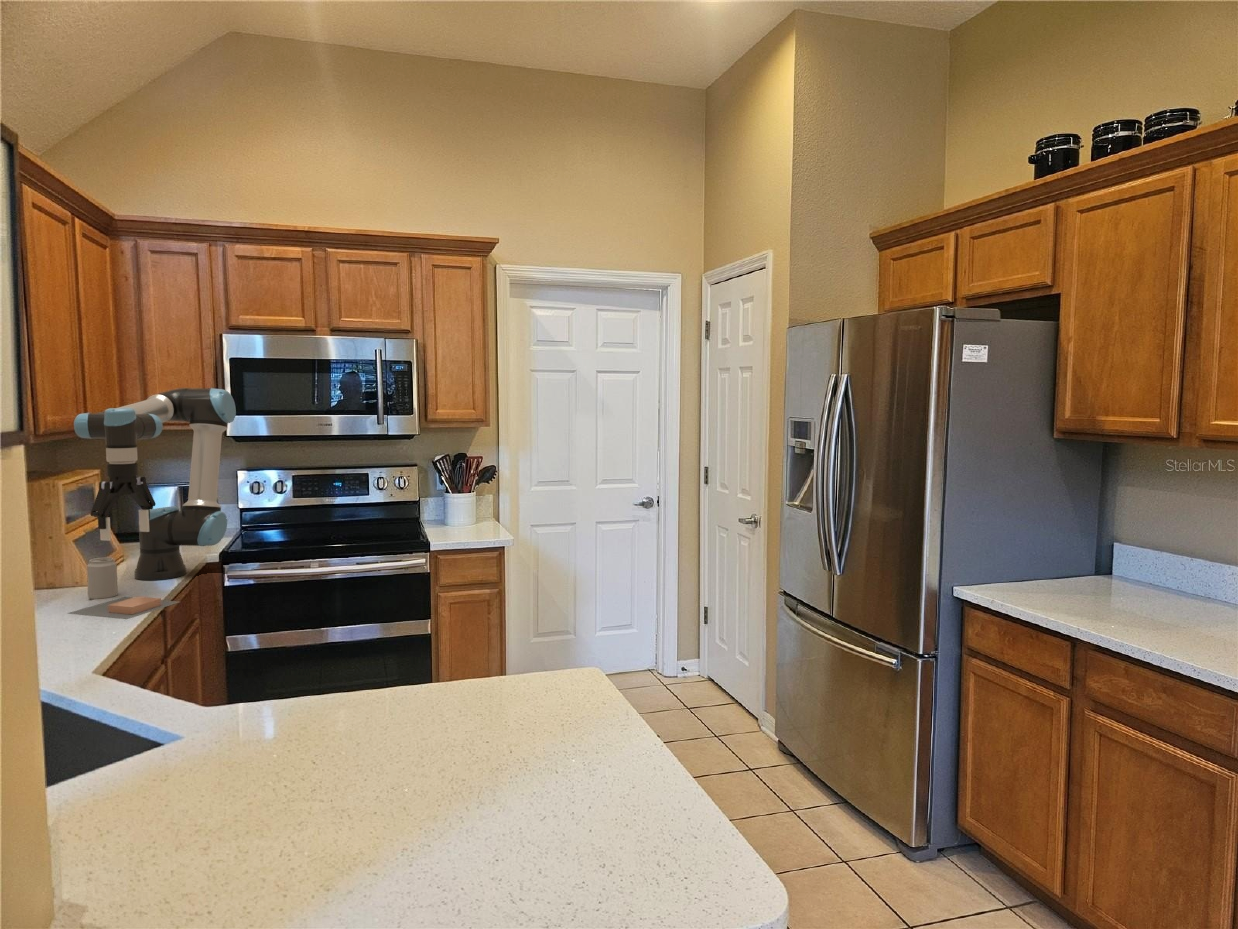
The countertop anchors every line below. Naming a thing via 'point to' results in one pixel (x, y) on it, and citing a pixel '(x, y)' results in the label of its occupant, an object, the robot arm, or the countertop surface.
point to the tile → (134, 605)
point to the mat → (102, 611)
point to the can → (102, 578)
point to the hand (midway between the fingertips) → (125, 535)
